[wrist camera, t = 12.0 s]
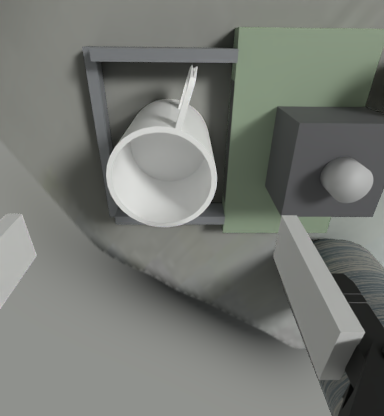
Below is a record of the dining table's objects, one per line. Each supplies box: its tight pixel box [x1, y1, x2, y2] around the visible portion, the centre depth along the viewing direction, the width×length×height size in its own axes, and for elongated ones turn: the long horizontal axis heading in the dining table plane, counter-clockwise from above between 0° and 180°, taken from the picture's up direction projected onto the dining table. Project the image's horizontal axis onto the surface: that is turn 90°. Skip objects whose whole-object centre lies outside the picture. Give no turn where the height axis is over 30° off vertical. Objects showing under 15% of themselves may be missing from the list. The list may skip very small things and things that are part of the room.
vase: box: [283, 239, 384, 416], centre depth 29 cm, size 12×12×23 cm
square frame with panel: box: [82, 27, 384, 233], centre depth 25 cm, size 20×25×10 cm
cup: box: [106, 65, 217, 227], centre depth 25 cm, size 8×12×10 cm
